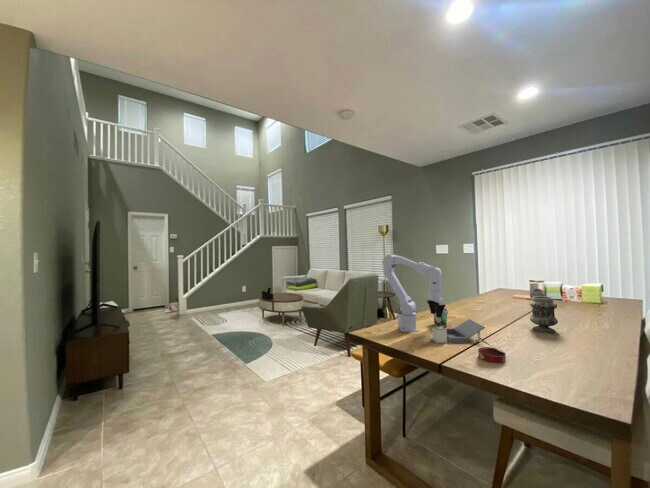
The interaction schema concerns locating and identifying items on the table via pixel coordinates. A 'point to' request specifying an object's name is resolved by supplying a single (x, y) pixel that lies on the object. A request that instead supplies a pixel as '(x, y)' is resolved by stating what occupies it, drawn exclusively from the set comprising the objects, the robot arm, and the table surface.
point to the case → (464, 332)
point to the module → (439, 334)
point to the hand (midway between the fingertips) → (436, 315)
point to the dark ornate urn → (543, 313)
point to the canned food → (491, 354)
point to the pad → (436, 342)
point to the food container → (441, 319)
